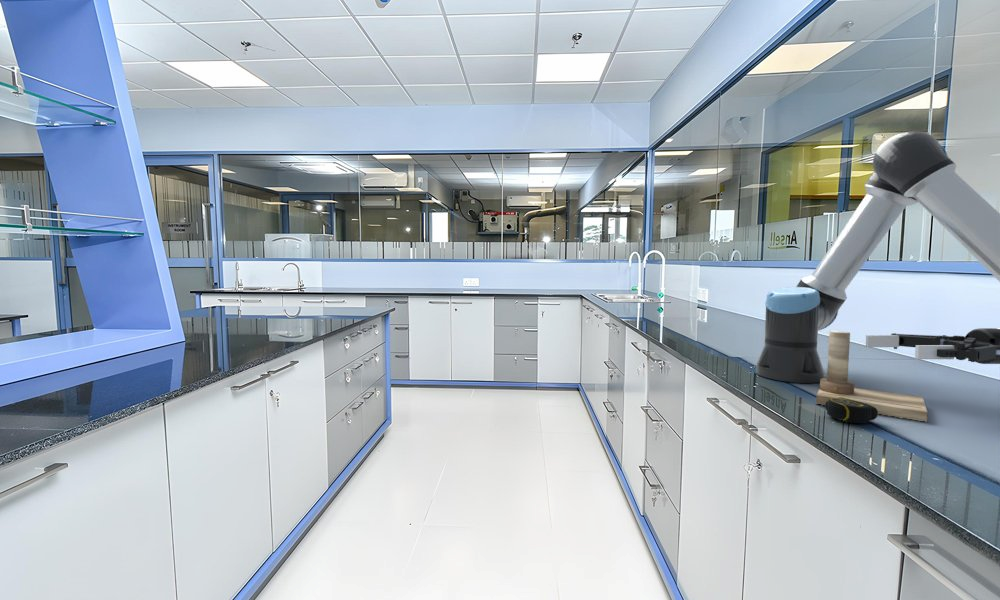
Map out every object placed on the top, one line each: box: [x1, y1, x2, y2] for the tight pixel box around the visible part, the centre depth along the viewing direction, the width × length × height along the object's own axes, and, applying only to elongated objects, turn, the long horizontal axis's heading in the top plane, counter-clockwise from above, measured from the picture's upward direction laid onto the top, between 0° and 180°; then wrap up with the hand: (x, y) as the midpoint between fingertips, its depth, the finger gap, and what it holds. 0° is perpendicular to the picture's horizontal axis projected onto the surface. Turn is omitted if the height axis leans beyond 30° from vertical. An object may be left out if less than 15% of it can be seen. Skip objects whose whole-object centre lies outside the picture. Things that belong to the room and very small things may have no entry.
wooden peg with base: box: [819, 330, 855, 394], centre depth 96 cm, size 7×6×13 cm
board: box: [815, 387, 928, 423], centre depth 93 cm, size 12×17×2 cm
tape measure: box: [824, 397, 879, 424], centre depth 84 cm, size 7×7×4 cm
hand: (889, 346), depth 95 cm, fingers open, 13 cm apart
